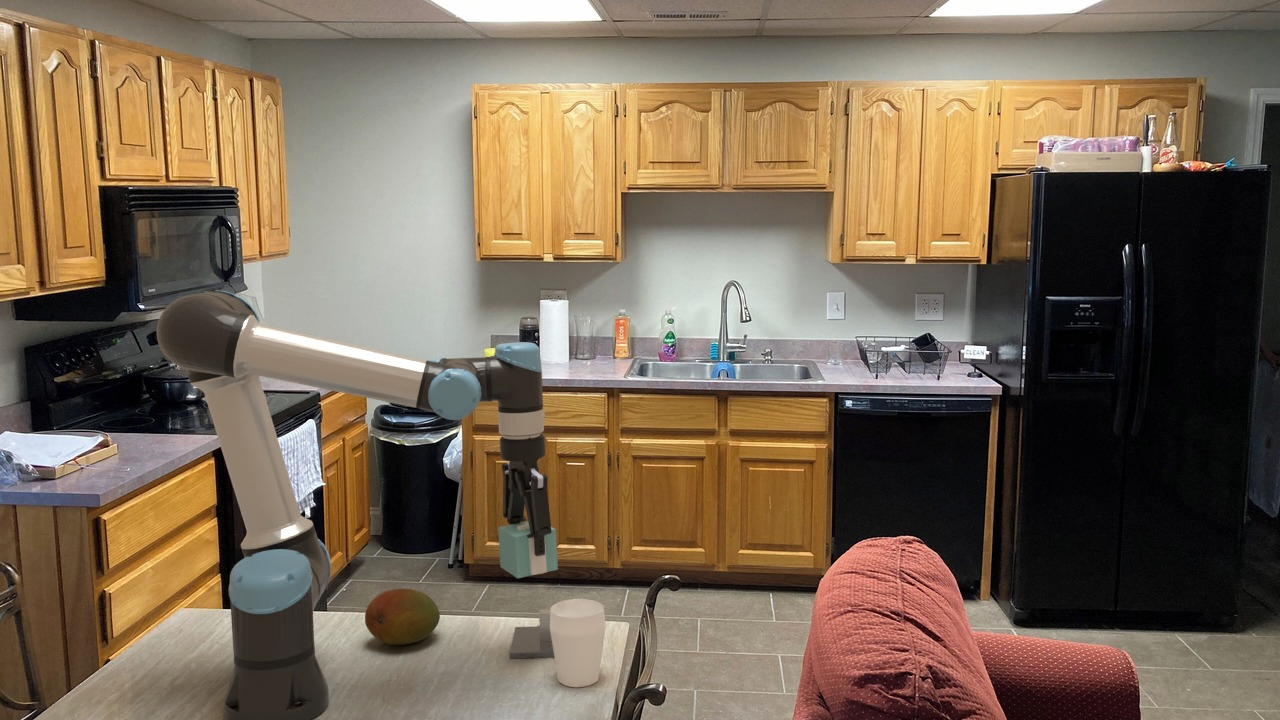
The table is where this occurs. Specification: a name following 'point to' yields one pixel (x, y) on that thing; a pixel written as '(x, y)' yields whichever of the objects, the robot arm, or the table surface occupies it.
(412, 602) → the fruit
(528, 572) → the teal block
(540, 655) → the shaft fixture
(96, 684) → the table surface
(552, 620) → the cup
